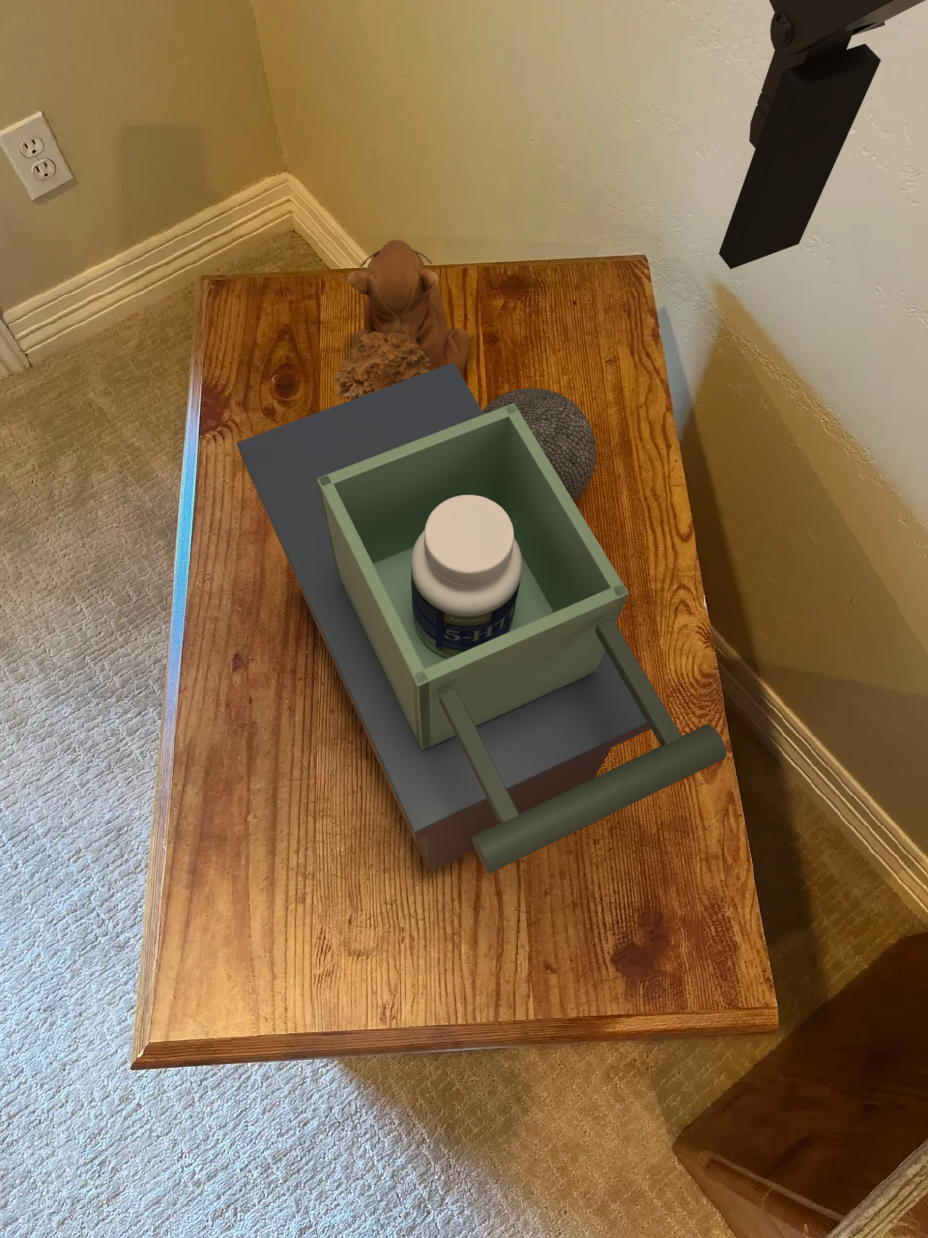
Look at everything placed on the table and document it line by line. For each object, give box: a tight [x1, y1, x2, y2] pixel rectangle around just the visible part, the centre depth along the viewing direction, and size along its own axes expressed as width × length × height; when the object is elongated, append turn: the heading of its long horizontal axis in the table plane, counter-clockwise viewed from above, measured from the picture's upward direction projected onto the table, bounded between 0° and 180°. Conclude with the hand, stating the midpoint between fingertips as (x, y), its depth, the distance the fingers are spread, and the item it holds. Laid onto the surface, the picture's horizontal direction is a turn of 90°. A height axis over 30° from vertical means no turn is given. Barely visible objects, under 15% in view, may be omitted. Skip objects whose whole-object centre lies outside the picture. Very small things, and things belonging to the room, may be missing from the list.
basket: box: [317, 403, 728, 874], centre depth 45 cm, size 19×11×10 cm, turn 26°
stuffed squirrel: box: [332, 239, 470, 401], centre depth 75 cm, size 10×14×13 cm
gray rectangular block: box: [236, 363, 651, 874], centre depth 61 cm, size 25×14×20 cm, turn 26°
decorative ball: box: [482, 387, 597, 504], centre depth 73 cm, size 10×10×10 cm
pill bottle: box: [411, 495, 522, 658], centre depth 46 cm, size 5×5×9 cm
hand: (878, 401), depth 29 cm, fingers open, 13 cm apart
